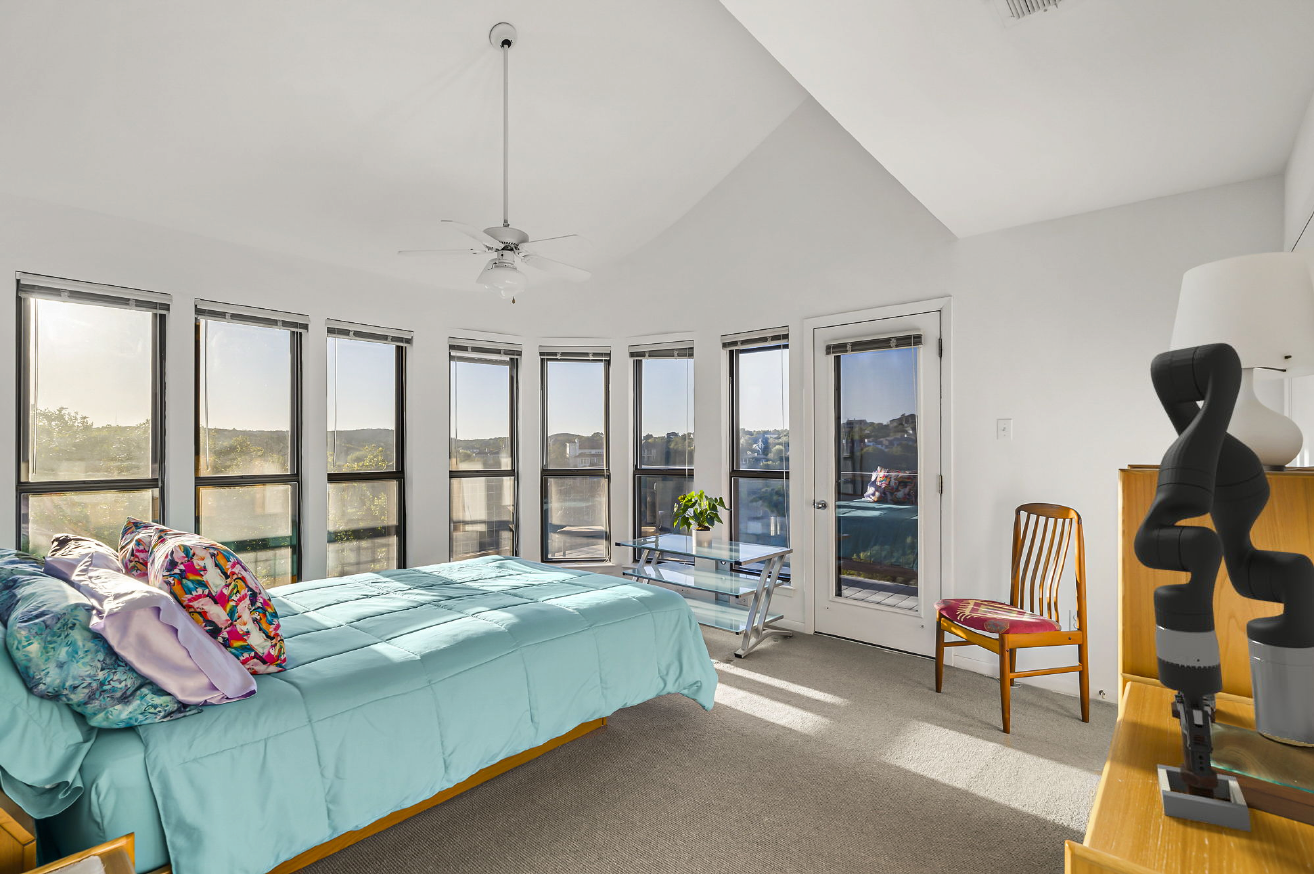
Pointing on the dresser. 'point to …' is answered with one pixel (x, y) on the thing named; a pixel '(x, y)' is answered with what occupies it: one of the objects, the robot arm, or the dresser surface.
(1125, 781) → the dresser surface
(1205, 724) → the robot arm
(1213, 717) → the bolt
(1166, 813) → the grey white square frame
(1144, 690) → the dresser surface
